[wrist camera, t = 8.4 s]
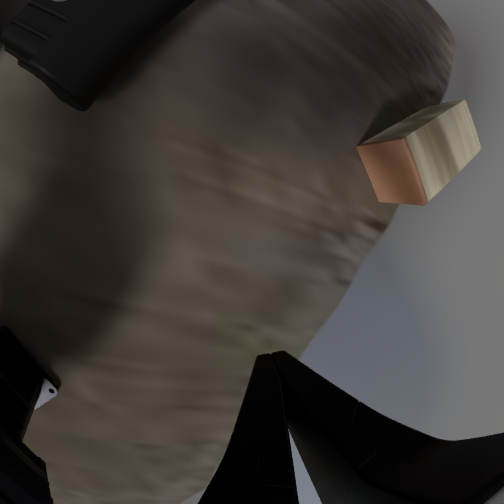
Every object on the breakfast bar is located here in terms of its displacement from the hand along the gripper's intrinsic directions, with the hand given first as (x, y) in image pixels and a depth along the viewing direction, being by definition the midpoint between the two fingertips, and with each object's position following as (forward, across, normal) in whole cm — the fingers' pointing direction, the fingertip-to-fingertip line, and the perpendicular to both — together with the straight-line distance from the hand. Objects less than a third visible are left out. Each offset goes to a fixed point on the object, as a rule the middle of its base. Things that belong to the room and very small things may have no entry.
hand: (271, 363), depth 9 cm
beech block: (+12, -12, -4) cm, 17 cm away
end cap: (+12, +7, -16) cm, 21 cm away
